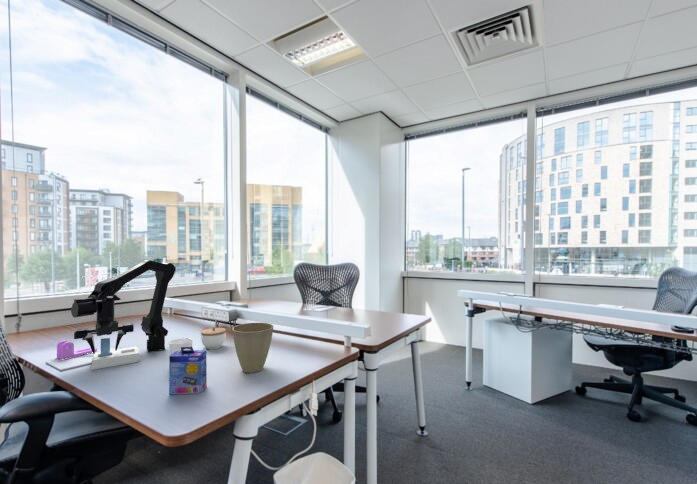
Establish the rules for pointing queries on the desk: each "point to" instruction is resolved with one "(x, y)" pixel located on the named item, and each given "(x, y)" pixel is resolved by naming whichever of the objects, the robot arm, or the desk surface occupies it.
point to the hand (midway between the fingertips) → (105, 352)
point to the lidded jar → (213, 337)
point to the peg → (105, 346)
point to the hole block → (116, 358)
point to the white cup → (179, 344)
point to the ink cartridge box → (187, 371)
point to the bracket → (70, 350)
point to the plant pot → (252, 345)
